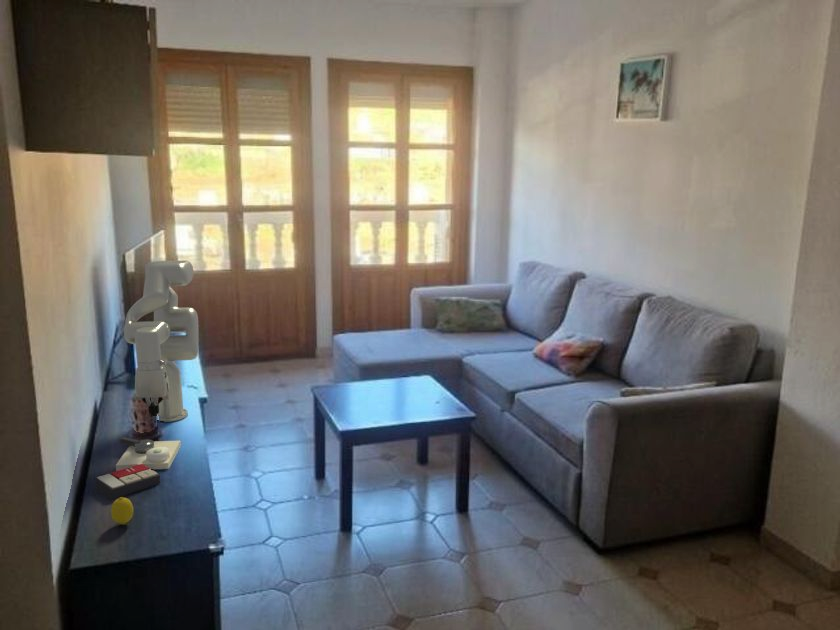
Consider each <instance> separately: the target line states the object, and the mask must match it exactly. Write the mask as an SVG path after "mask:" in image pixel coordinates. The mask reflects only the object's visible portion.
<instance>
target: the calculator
mask: <svg viewBox="0 0 840 630" xmlns="http://www.w3.org/2000/svg"><path fill="white" fill-rule="evenodd" d="M94 480H95V490H97V492H99V493H101V494H102V495H103V496H105V497H106V498H108V499H109V500H111V501H115V500H117V499H118V498H120V497H123V498H124V497H127V495H130V494H133V493H136V492H135V491H137V492H139V491H138V490H140V489H143V490H145V489H147V488H146V487H148V488H151V487H153V485H154V486H156V485H159V484H161V474H159V473H158V472H157V471H155V470H154V469H153V470H151V469H149V468H148V467H146V466H145V465H143V464H140V465H136V466H133V467H129V468H126V469H122V470H118V471H116V470H115V471H112V472H111V473H107V474H104V475H100V476H96V477H95V479H94ZM150 486H151V487H150ZM144 488H145V489H144ZM140 491H141V490H140ZM132 492H133V493H132Z"/></svg>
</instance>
